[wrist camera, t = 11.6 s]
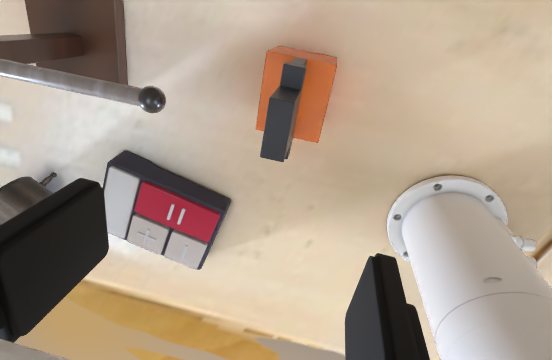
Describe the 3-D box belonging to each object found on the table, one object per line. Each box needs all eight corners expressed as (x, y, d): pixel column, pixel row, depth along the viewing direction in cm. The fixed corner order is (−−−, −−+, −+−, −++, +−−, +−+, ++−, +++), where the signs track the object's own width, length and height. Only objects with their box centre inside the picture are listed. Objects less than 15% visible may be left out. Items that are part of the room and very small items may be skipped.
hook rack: (230, 20, 32) (120, 22, 16) (222, 117, 37) (131, 196, 20) (33, -17, 33) (-256, -52, 17) (49, 80, 38) (-166, 126, 22)
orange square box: (336, 57, 32) (337, 85, 18) (320, 124, 35) (311, 189, 22) (278, 45, 32) (236, 64, 19) (267, 113, 35) (225, 170, 22)
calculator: (198, 275, 43) (91, 231, 42) (207, 253, 47) (109, 213, 46) (224, 215, 38) (103, 163, 37) (233, 196, 42) (123, 148, 40)
